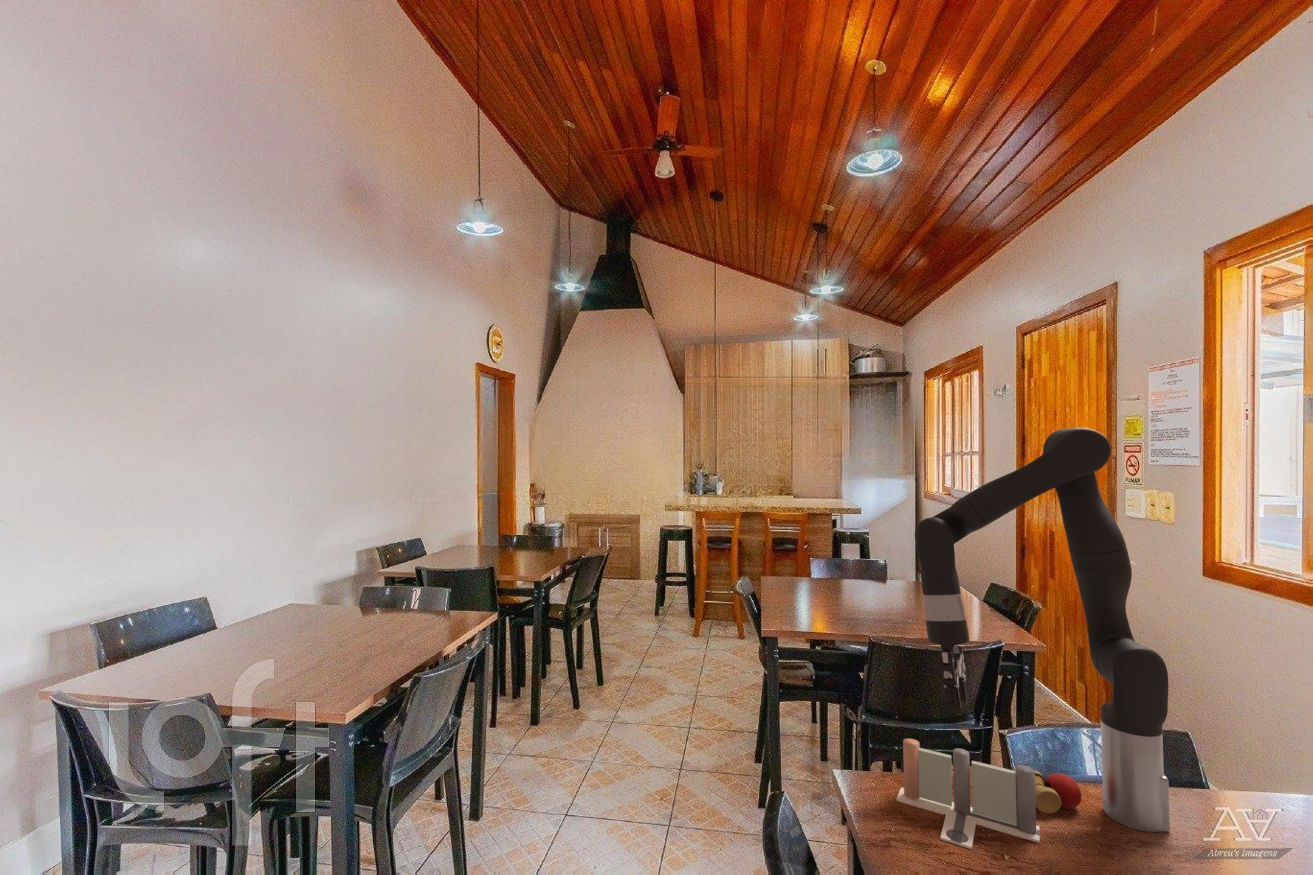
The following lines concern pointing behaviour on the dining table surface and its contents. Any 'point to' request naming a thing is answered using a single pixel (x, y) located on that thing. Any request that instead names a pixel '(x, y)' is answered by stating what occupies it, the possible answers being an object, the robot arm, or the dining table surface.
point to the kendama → (1056, 792)
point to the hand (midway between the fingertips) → (958, 704)
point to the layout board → (965, 822)
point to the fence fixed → (995, 791)
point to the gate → (927, 773)
